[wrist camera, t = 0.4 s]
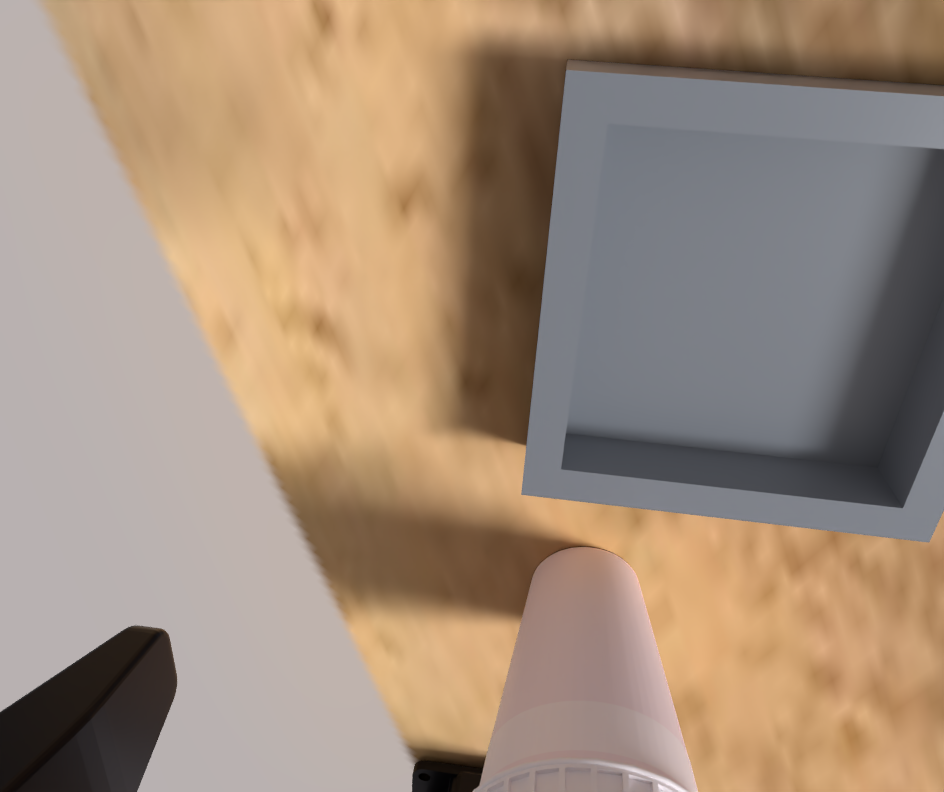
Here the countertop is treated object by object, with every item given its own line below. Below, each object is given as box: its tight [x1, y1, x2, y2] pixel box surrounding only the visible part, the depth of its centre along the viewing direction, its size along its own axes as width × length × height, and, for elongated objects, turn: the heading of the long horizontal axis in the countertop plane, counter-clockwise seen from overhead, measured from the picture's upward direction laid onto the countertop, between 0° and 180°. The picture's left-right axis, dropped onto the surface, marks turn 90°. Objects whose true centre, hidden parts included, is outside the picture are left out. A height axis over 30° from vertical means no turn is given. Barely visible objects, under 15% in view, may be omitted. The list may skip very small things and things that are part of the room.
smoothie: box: [473, 547, 698, 792], centre depth 20 cm, size 6×6×14 cm
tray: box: [521, 60, 944, 542], centre depth 19 cm, size 11×11×2 cm
